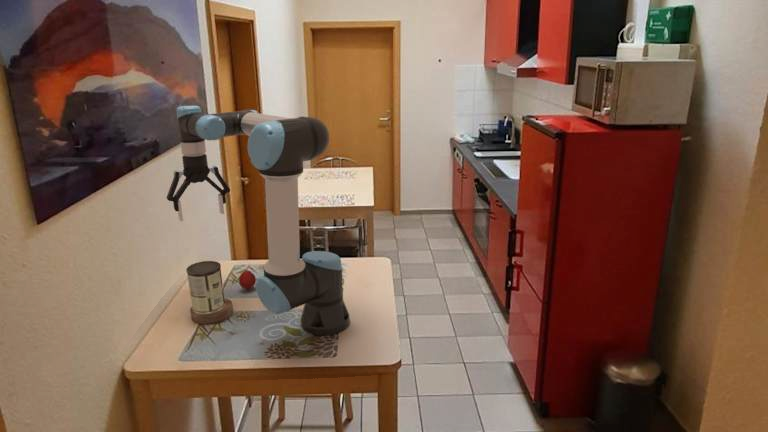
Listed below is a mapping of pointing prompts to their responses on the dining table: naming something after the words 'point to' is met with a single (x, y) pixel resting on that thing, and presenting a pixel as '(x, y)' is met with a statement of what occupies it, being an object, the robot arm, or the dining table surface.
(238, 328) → the dining table surface
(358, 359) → the dining table surface
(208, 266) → the coffee can
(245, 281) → the red bumpy fruit
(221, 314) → the pedestal
